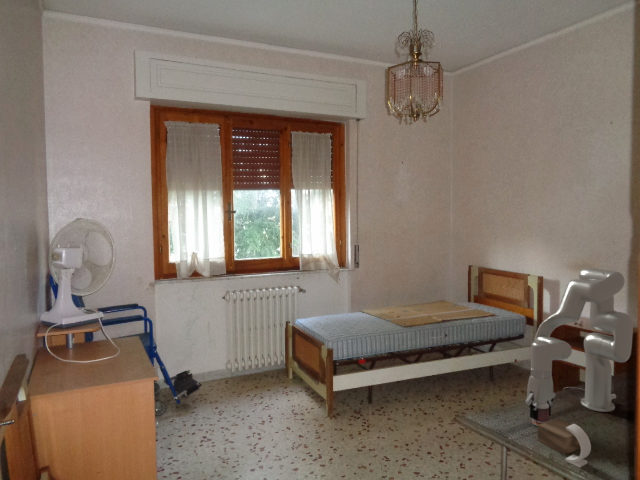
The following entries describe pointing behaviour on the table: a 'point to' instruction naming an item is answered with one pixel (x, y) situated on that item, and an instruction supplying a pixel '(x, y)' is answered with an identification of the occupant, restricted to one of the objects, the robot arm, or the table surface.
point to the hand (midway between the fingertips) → (540, 416)
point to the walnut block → (558, 436)
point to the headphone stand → (584, 446)
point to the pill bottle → (542, 413)
